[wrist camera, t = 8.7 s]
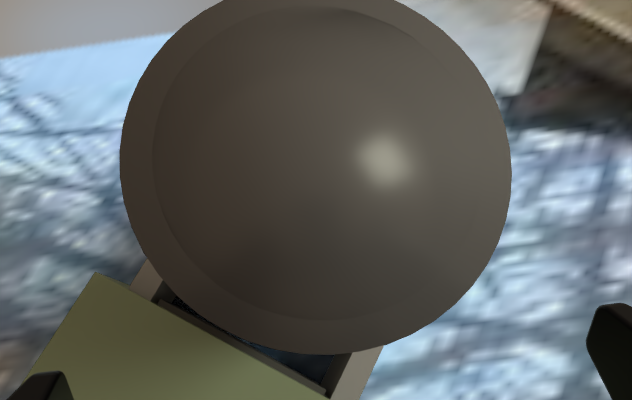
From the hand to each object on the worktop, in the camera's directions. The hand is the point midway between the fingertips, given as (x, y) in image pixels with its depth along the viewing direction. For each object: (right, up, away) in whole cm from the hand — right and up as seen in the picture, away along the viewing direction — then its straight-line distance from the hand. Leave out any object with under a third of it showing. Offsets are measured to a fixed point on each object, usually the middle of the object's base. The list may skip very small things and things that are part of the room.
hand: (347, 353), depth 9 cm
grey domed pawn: (-2, 0, +12) cm, 12 cm away
